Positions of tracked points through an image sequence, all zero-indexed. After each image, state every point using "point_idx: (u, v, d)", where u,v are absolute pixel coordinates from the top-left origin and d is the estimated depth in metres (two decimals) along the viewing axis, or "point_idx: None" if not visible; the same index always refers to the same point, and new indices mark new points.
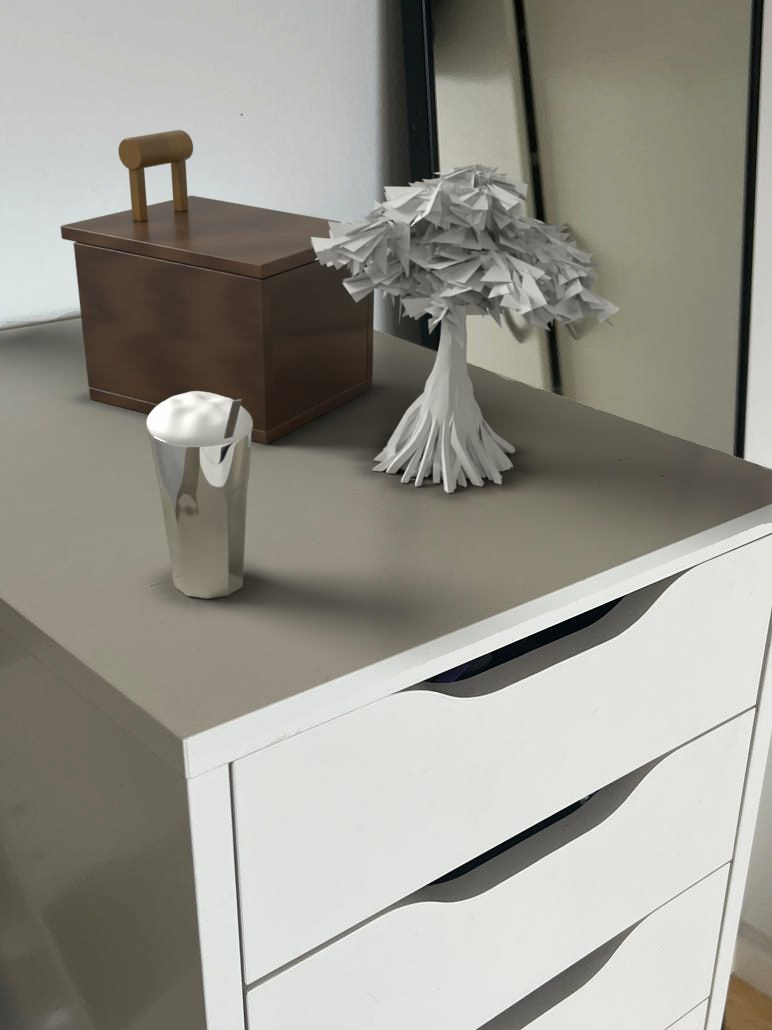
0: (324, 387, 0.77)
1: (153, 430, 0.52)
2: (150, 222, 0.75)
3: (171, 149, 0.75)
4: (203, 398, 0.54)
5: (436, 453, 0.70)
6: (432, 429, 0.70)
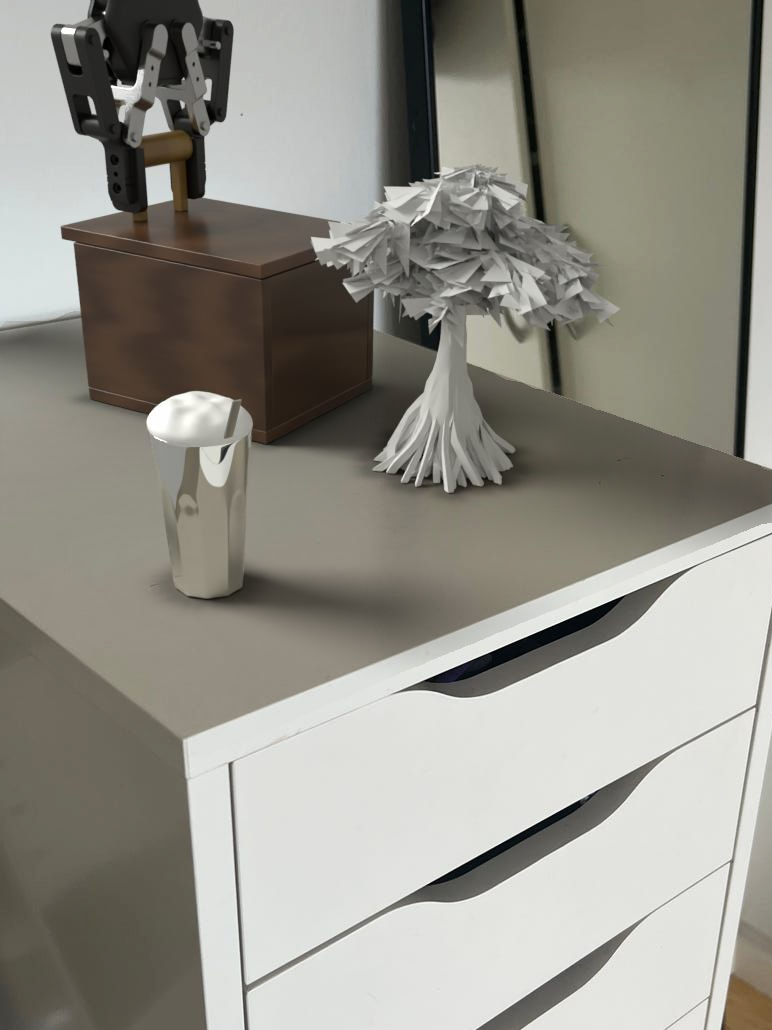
0: (324, 387, 0.77)
1: (153, 430, 0.52)
2: (150, 222, 0.75)
3: (171, 149, 0.75)
4: (203, 398, 0.54)
5: (436, 453, 0.70)
6: (432, 429, 0.70)
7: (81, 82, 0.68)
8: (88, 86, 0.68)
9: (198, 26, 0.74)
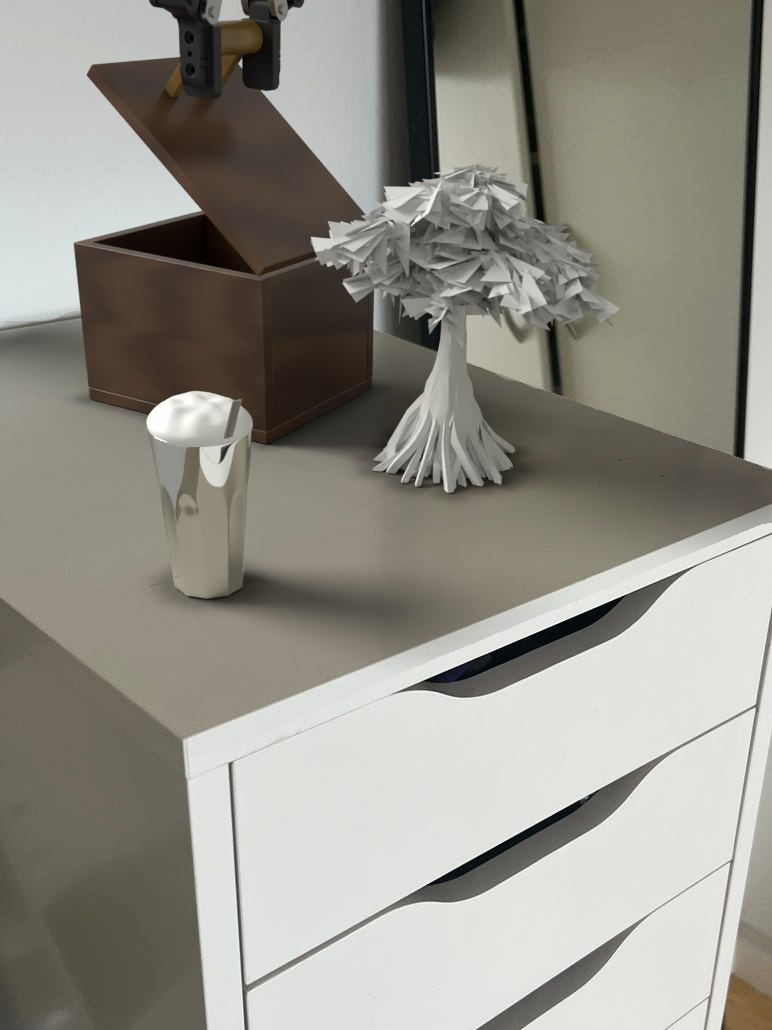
0: (324, 387, 0.77)
1: (153, 430, 0.52)
2: (180, 104, 0.71)
3: (239, 49, 0.70)
4: (203, 398, 0.54)
5: (436, 453, 0.70)
6: (432, 429, 0.70)
7: None
8: None
9: None
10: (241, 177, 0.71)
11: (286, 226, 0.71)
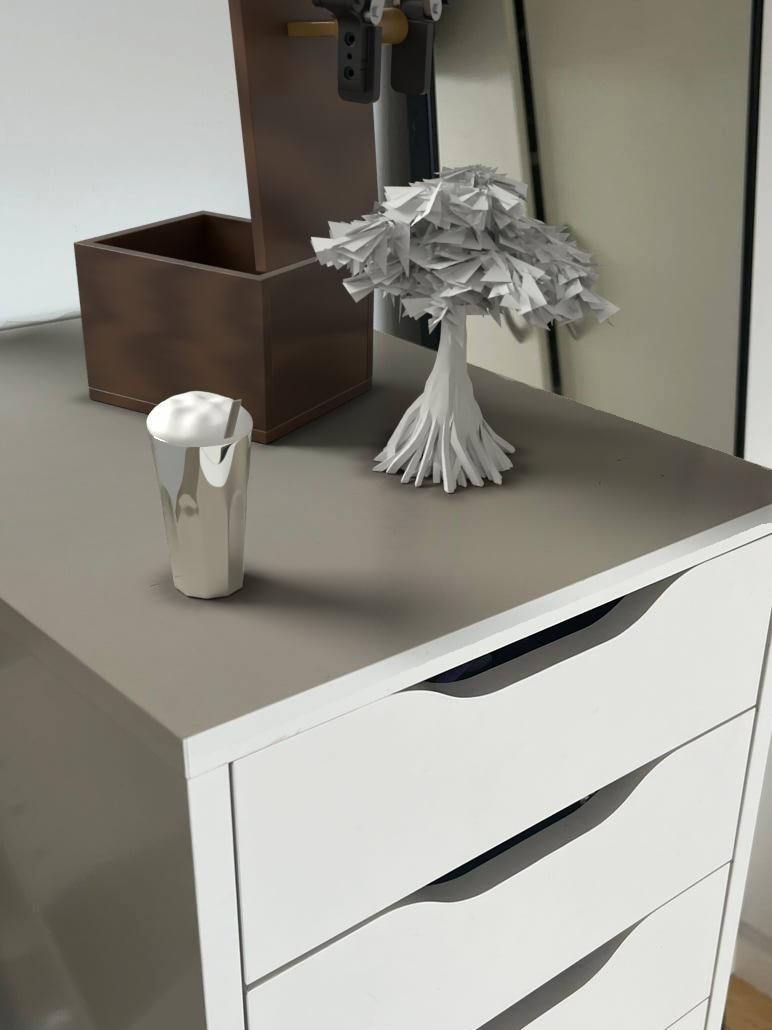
0: (324, 387, 0.77)
1: (153, 430, 0.52)
2: (291, 46, 0.66)
3: None
4: (203, 398, 0.54)
5: (436, 453, 0.70)
6: (432, 429, 0.70)
7: None
8: None
9: None
10: (299, 154, 0.68)
11: (308, 222, 0.70)
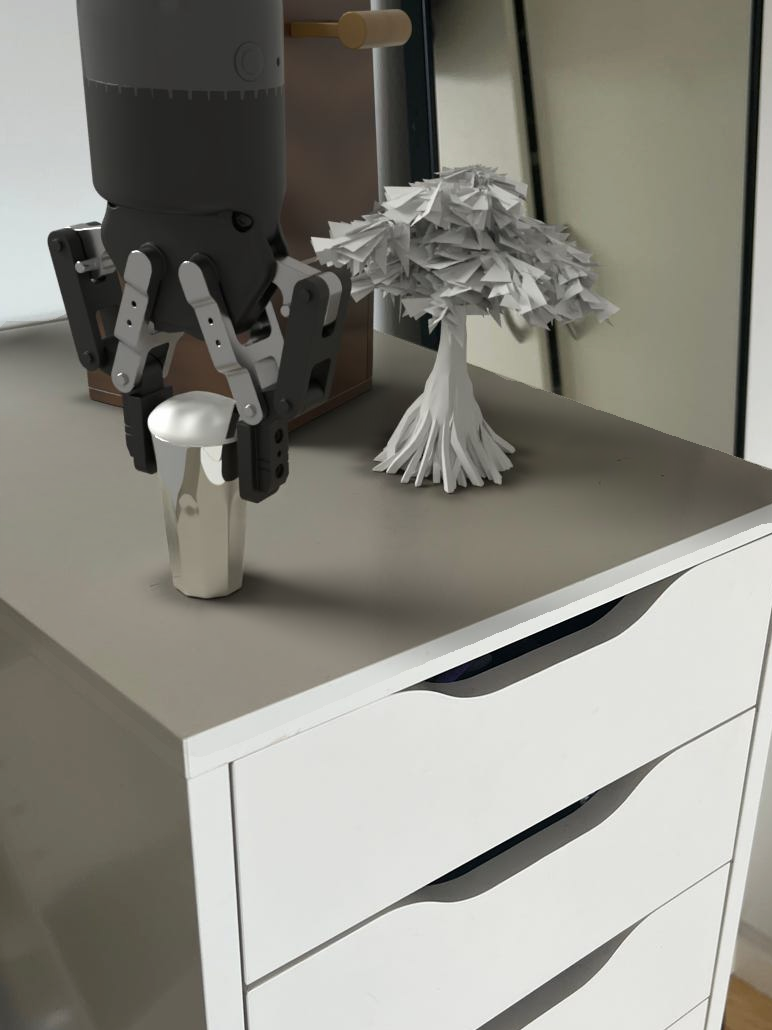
0: None
1: (155, 430, 0.52)
2: (294, 46, 0.66)
3: None
4: (204, 398, 0.54)
5: (436, 453, 0.70)
6: (432, 429, 0.70)
7: None
8: None
9: (247, 274, 0.48)
10: (301, 154, 0.68)
11: (308, 222, 0.70)
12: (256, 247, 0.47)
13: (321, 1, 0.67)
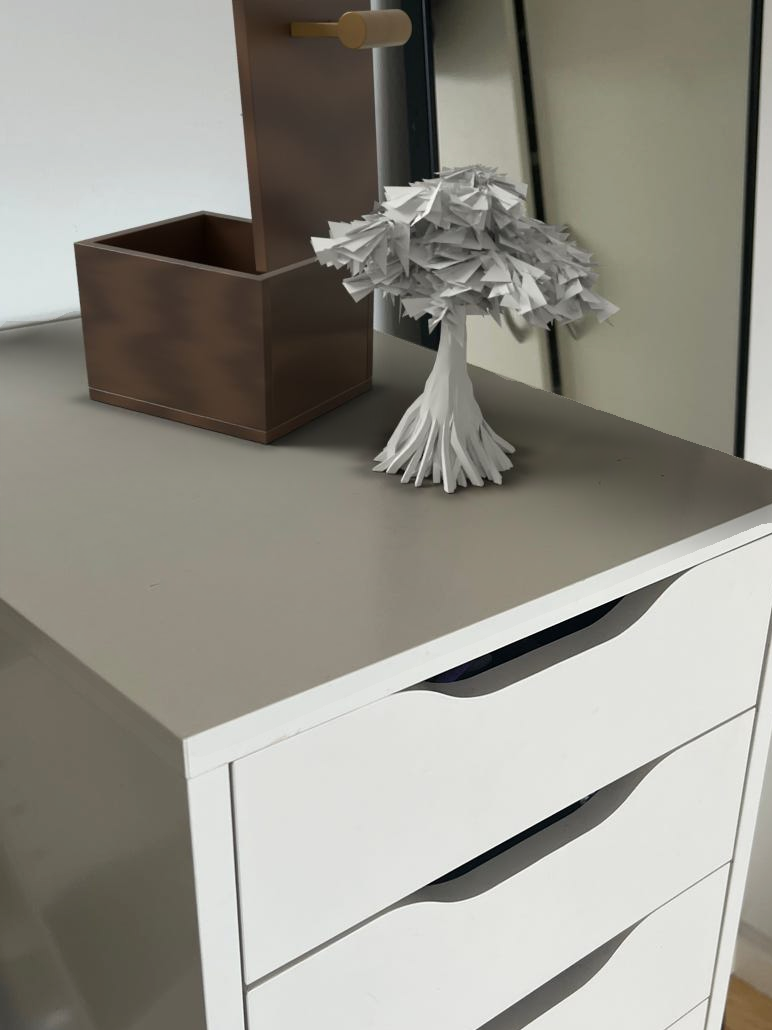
0: (324, 387, 0.77)
1: None
2: (294, 46, 0.66)
3: None
4: None
5: (436, 453, 0.70)
6: (432, 429, 0.70)
7: None
8: None
9: None
10: (301, 154, 0.68)
11: (308, 222, 0.70)
12: None
13: (321, 1, 0.67)
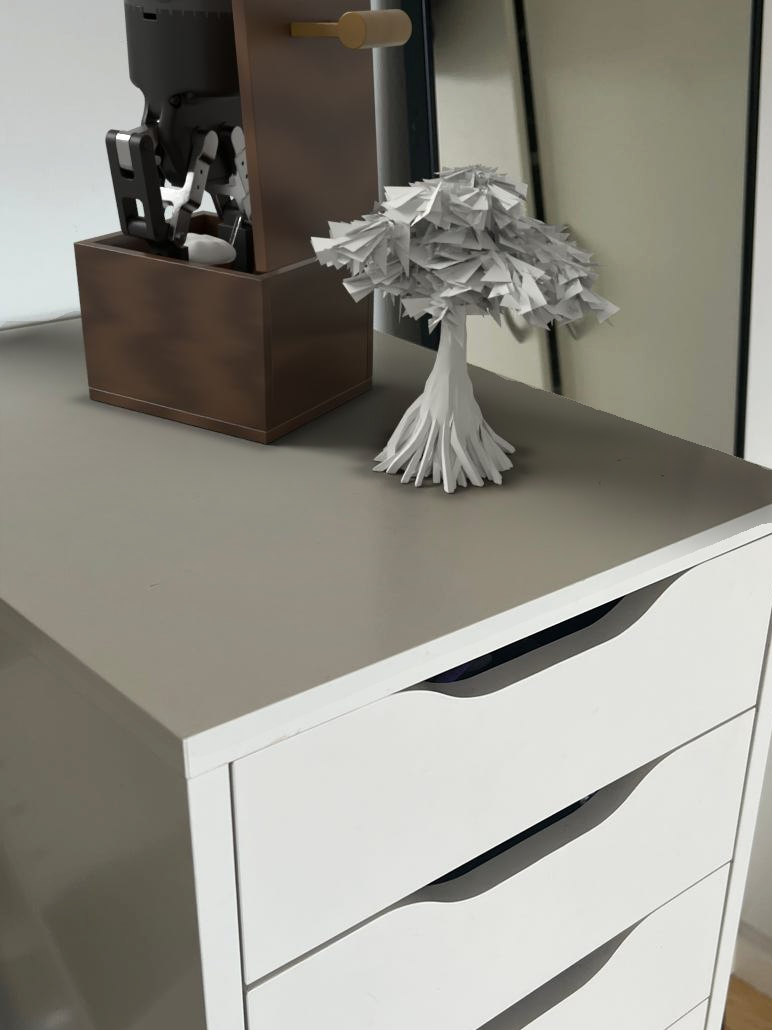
0: (324, 387, 0.77)
1: (218, 259, 0.75)
2: (294, 46, 0.66)
3: None
4: None
5: (436, 453, 0.70)
6: (432, 429, 0.70)
7: (132, 185, 0.69)
8: (138, 190, 0.69)
9: None
10: (301, 154, 0.68)
11: (308, 222, 0.70)
12: None
13: (321, 1, 0.67)
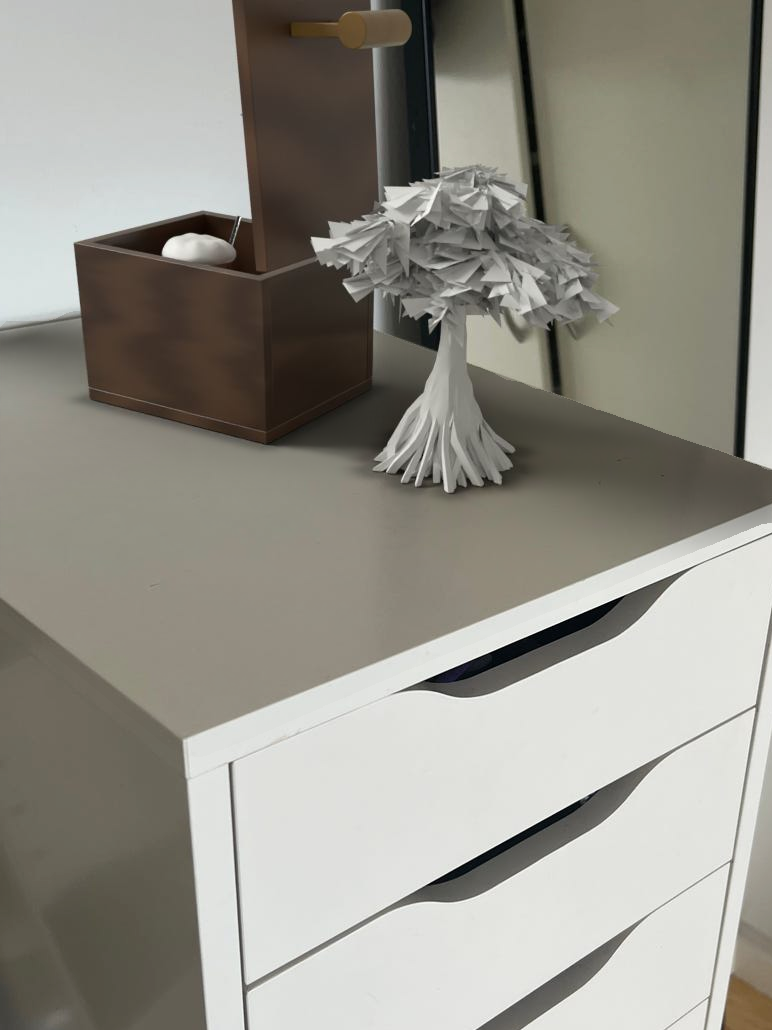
0: (324, 387, 0.77)
1: (218, 259, 0.75)
2: (294, 46, 0.66)
3: None
4: None
5: (436, 453, 0.70)
6: (432, 429, 0.70)
7: None
8: None
9: None
10: (301, 154, 0.68)
11: (308, 222, 0.70)
12: None
13: (321, 1, 0.67)
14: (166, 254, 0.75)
